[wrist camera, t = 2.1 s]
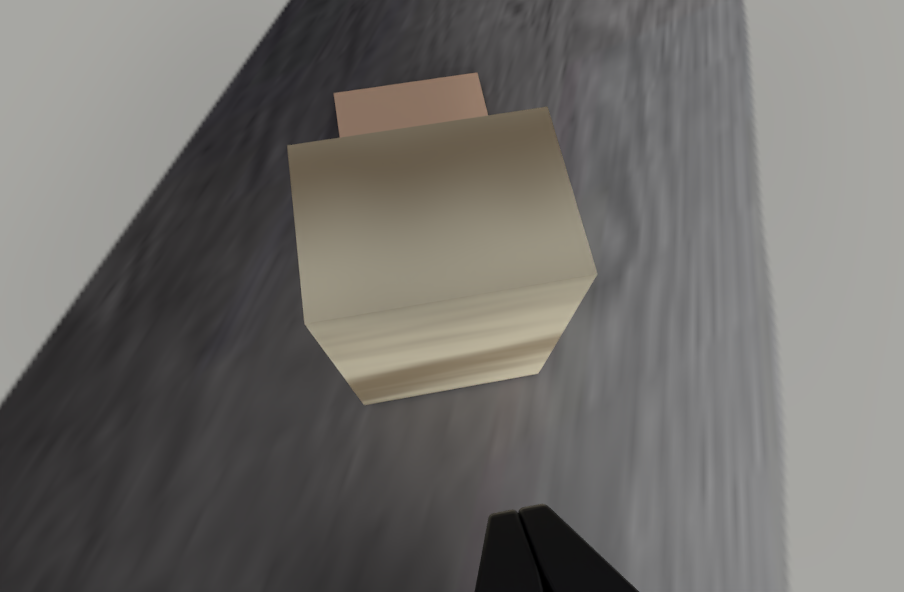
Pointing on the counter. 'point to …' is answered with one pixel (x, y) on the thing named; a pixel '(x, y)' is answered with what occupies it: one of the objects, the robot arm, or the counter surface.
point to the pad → (409, 104)
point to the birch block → (438, 252)
